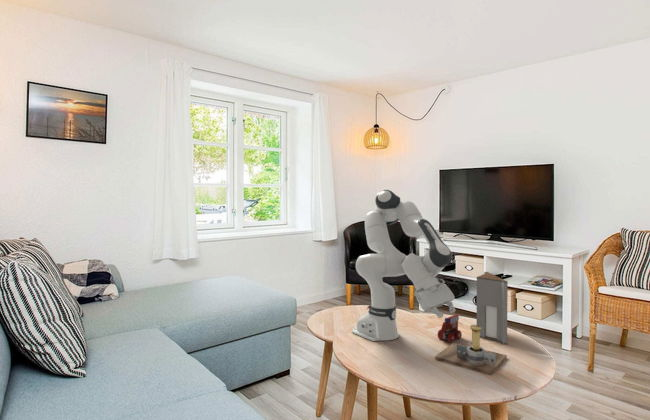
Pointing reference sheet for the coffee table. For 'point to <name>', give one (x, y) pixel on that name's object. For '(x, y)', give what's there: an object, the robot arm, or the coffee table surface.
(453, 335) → the toy fire truck
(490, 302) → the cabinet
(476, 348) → the hinge pin
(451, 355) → the walnut board
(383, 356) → the coffee table surface
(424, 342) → the coffee table surface
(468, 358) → the hinge
